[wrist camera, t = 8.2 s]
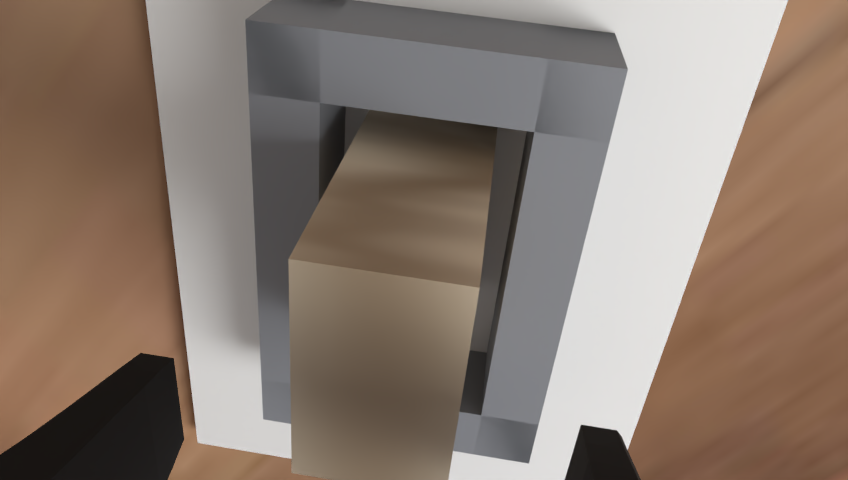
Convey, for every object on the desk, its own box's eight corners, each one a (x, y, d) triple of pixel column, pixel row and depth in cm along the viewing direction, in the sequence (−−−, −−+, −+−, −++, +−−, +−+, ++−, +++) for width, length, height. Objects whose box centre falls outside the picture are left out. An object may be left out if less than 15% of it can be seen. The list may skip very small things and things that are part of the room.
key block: (498, 117, 17) (479, 287, 11) (472, 287, 19) (445, 499, 13) (374, 100, 17) (288, 258, 11) (364, 270, 20) (291, 472, 14)
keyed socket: (603, 496, 24) (612, 582, 21) (204, 429, 25) (165, 503, 22) (844, -193, 13) (921, -193, 11) (128, -267, 14) (36, -284, 11)
